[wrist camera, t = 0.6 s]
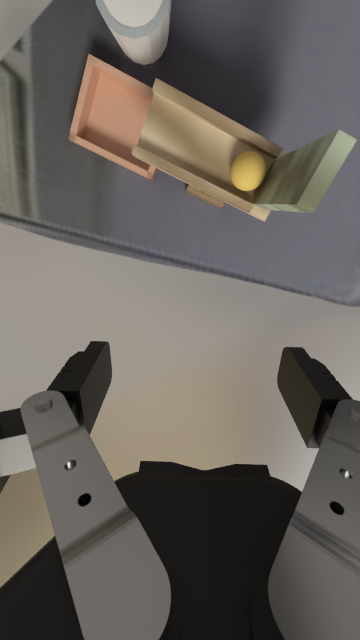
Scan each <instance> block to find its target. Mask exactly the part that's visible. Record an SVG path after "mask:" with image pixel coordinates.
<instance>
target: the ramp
mask: <svg viewBox="0 0 360 640" xmlns="http://www.w3.org/2000/svg"><path fill="white" fill-rule="evenodd" d="M152 89H153V93H154V95H153V98H152V101H151V104H150V107H149V110H148V113H147V116H146V119H145V122H144V125H143V129H142V132H141V135H140V138H139V141H138V144H137V146H136V145H135V144H134V147H133V150H132V153H131V154H132V155H133V156H134V157H135V158H137V159H139V160H141V161H143V162H145V163H147V164H149V165H151V166H153V167H155V168H157V169H159V170H161V171H163V172H165V173H167V174H169V175H171V176H173V177H175V178H177V179H179V180H181V181H183V182H185V183H187V184H189V185H191V186H193V187H196V188H198V189H200V190H202V191H204V192H206V193H208V194H210V195H212V196H214V197H216V198H218V199H220V200H222V201H224V202H226V203H228V204H230V205H232V206H234V207H236V208H238V209H240V210H242V211H244V212H246V213H248V214H250V215H252V216H254V217H256V218H258V219H260V220H262V221H265V220H266V218H267V217H268V215H269V213H270V211H271V210H280V211H292V212H304V213H314V211H315V209H316V208H317V206H318V204H319V203H320V201H321V199H322V198H323V196H324V194H325V192H326V191H327V189H328V187H329V186H330V184H331V182H332V181H333V179H334V177H335V176H336V174H337V172H338V171H339V169H340V167H341V166H342V164H343V162H344V161H345V159H346V157H347V156H348V154H349V152H350V151H351V149H352V147H353V146H354V144H355V142H356V139H355V138H353V137H351V136H349V135H348V134H346V133H344V132H343V131H341V130H337V131H335V132H333V133H331V134H329V135H326V136H324V137H322V138H320V139H318V140H316V141H314V142H312V143H309V144H307V145H305V146H303V147H301V148H299V149H297V150H295V151H292V152H290V153H288V154H284V153H283V152H281V151H282V149H283V148H282V147H280V146H278V145H277V144H275V143H273V142H271V141H269V140H268V139H266V138H264V137H262V136H260V135H258V134H257V133H255V132H253V131H251V130H249V129H248V128H246V127H244V126H242V125H240V124H239V123H237V122H235V121H233V120H231V119H230V118H228V117H226V116H224V115H222V114H220V113H219V112H217V111H215V110H213V109H211V108H210V107H208V106H206V105H204V104H202V103H201V102H199V101H197V100H195V99H193V98H192V97H190V96H188V95H186V94H184V93H182V92H181V91H179V90H177V89H175V88H173V87H172V86H170V85H168V84H166V83H164V82H163V81H161V80H159V79H157V78H156V79H155V82H154V85H153V88H152ZM248 151H253V152H256V153H258V154H260V155H261V156H262V157H263V159H264V161H265V163H266V174H265V177H264V179H263V181H262V183H261V184H260V185H259V186H258V187H256V188H255V189H253V190H250V191H243V190H240V189H238V188H237V187H236V186H235V185H234V184H233V182H232V180H231V176H230V171H231V166H232V164H233V162H234V160H235V159H236V158H237V157H238V156H239V155H240V154H242V153H244V152H248Z"/></svg>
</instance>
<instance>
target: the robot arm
mask: <svg viewBox="0 0 360 640" xmlns="http://www.w3.org/2000/svg"><path fill="white" fill-rule="evenodd" d="M111 378H112V367H111V356H110V346H109V343H108V342H102V341H101V342H100V341H91V342H90V344H89V345H88V347H87V348H86V350H85V351H84V352H77V353H76V354H75V355H73V356H72V357H70V358H69V360H68V361H67V362H66V364H65V366H64V367H63V368H62V369H61V372H59V373H58V375H57V376H56V378H55V379H54V380H53V382H52V383H51V385H50V386H49V388H48V389H47V391H43V392H39V393H37V394H34V395H32V396H31V397H29V398H28V399H26V400H25V401H24V402H23V404H22V406H21V408H18V409H13V410H9V411H3V412H0V493H1V491H2V489H3V487H4V486H5V484H6V482H7V480H8V478H9V477H10V475H11V474H14V473H18V472H22V471H26V470H30V469H34V468H37V472H38V476H39V479H40V483H41V487H42V490H43V494H44V497H45V501H46V504H47V508H48V511H49V515H50V519H51V522H52V526H53V529H54V533H55V536H54V537H53V538H52V539H51V540H50V541H49V542H48V543H47V544H46V545H45V546H44V547H43V548H41V549H40V550H39V551H38V552H37V553H36V554H35V555H34V556H33V557H32V558H31V559H30V560H29V561H28V562H27V563H26V564H25V565H24V566H23V567H22V568H21V569H19V570H18V571H17V572H16V573H15V574H14V575H13V576H12V577H11V578H10V579H9V580H8V581H7V582H6V583H5V584H4V585H3V586H2V587H1V588H0V640H360V401H357V400H353V399H352V398H351V397H350V396H349V394H348V393H347V392H346V391H345V389H344V388H343V387H342V386H341V385H340V383H339V382H338V381H336V379H335V377H334V376H333V375H332V374H331V373H330V371H329V370H328V369H327V368H326V366H325V365H323V364H322V363H320V362H319V361H317V360H316V359H311V358H310V356H309V355H308V354H307V352H306V351H305V350H304V349H303V348H301V347H300V348H299V347H285V348H284V349H283V352H282V356H281V361H280V366H279V371H278V376H277V383H278V388H279V390H280V392H281V394H282V396H283V399H284V401H285V403H286V405H287V407H288V409H289V411H290V413H291V415H292V417H293V419H294V421H295V423H296V426H297V428H298V430H299V432H300V434H301V436H302V438H303V440H304V442H305V444H306V446H307V448H319V450H318V453H317V455H316V458H315V461H314V463H313V466H312V468H311V471H310V473H309V476H308V478H307V481H306V484H305V486H304V489H303V491H302V492H301V491H300V490H298V489H297V488H295V487H294V486H292V485H290V484H288V483H286V482H284V481H282V480H280V479H277V478H274V477H271V476H270V474H269V470H268V467H267V465H251V464H234V465H230V466H225V467H220V468H215V469H211V470H199V469H195V468H192V467H188V466H184V465H181V464H177V463H173V462H156V461H141V462H140V467H139V472H135V473H132V474H129V475H126V476H124V477H122V478H119V479H118V480H116V481H114V480H113V479H112V477H111V475H110V473H109V471H108V469H107V467H106V465H105V464H104V462H103V460H102V458H101V456H100V454H99V453H98V451H97V449H96V447H95V445H94V443H93V441H92V439H91V437H90V433H91V431H92V428H93V426H94V423H95V421H96V418H97V416H98V413H99V411H100V408H101V406H102V403H103V400H104V398H105V396H106V393H107V391H108V388H109V386H110V383H111Z"/></svg>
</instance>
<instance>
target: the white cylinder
mask: <svg viewBox="0 0 360 640" xmlns="http://www.w3.org/2000/svg"><path fill="white" fill-rule="evenodd" d="M96 5H97V7H98V9H99V11H100V13H101V14H102V16H103V18H104V20H105V22H106V24H107V25H108V27H109V28H110V30H111V32H112V33H113V35H114V37H115V38H116V40H117V42H118V43H119V45H120V46H121V48H122V50H123V51H124V53H125V55H126V56H128V57H129V58H130V59H131V60H132V61H133V62H135V63H138V64H142V65H146V64H151V63H154V62H155V61H156V60H157V59H159V58H160V57H161V56H162V54H163V52H164V50H165V48H166V46H167V42H168V36H169V26H170V12H171V0H96Z"/></svg>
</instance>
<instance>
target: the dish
mask: <svg viewBox="0 0 360 640" xmlns="http://www.w3.org/2000/svg"><path fill="white" fill-rule="evenodd" d="M153 95H154V93H153V89H152V88H151V87H149V86H147V85H145V84H144V83H142V82H140V81H138V80H136V79H134V78H133V77H131V76H129V75H127V74H125V73H123V72H122V71H120V70H118V69H116V68H114V67H112V66H110V65H109V64H107V63H105V62H103V61H101V60H99V59H98V58H96V57H94V56H92V55H90V54H89V55H88V59H87V63H86V67H85V71H84V75H83V80H82V84H81V88H80V92H79V96H78V101H77V105H76V109H75V113H74V117H73V121H72V126H71V130H70V134H69V138H68V139H69V140H70V141H72V142H74V143H76V144H78V145H80V146H82V147H84V148H86V149H88V150H90V151H92V152H94V153H96V154H98V155H100V156H102V157H104V158H106V159H108V160H110V161H112V162H114V163H117V164H119V165H121V166H123V167H125V168H127V169H129V170H131V171H133V172H135V173H137V174H139V175H141V176H143V177H145V178H147V179H149V180H151V181H153V182H154V180H155V177H156V174H157V171H158V169H157V168H155V167H153V166H151V165H149V164H147V163H145V162H143V161H141V160H139V159H137V158H135V157H134V156H133V155H132V154H131V153H132V150H133V147H134V144H135V145H136V146H137V144H138V141H139V138H140V135H141V132H142V129H143V125H144V122H145V119H146V116H147V113H148V110H149V107H150V104H151V101H152V98H153Z"/></svg>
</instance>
